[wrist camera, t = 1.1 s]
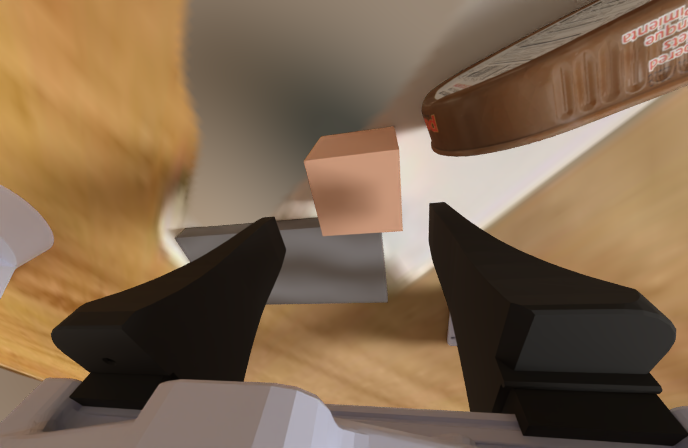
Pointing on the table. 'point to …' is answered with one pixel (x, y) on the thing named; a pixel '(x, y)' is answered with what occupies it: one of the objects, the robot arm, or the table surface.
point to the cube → (356, 182)
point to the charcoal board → (310, 262)
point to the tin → (562, 77)
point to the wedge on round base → (19, 234)
